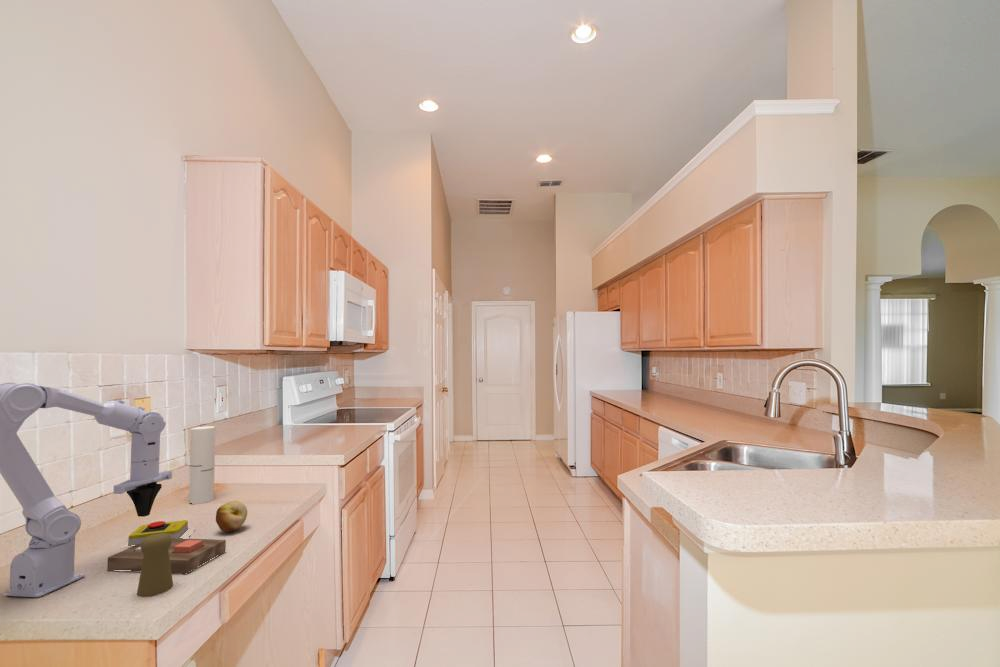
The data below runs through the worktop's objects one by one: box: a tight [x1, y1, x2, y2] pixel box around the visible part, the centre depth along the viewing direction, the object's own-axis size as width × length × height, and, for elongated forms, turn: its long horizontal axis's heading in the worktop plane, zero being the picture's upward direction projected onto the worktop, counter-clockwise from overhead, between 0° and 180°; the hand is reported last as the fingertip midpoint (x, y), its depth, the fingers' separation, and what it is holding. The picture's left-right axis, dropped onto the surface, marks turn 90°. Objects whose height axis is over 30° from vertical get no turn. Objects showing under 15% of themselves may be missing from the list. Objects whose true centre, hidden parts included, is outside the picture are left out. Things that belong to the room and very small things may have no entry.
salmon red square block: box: [174, 540, 203, 553], centre depth 109 cm, size 4×4×3 cm
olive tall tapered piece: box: [136, 533, 174, 598], centre depth 96 cm, size 6×6×11 cm
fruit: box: [215, 500, 248, 533], centre depth 130 cm, size 8×8×8 cm
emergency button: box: [127, 519, 189, 546], centre depth 126 cm, size 9×4×15 cm
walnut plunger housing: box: [106, 538, 227, 574], centre depth 110 cm, size 12×20×3 cm, turn 83°
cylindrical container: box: [188, 425, 216, 505], centre depth 160 cm, size 7×7×25 cm
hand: (143, 515), depth 115 cm, fingers closed
